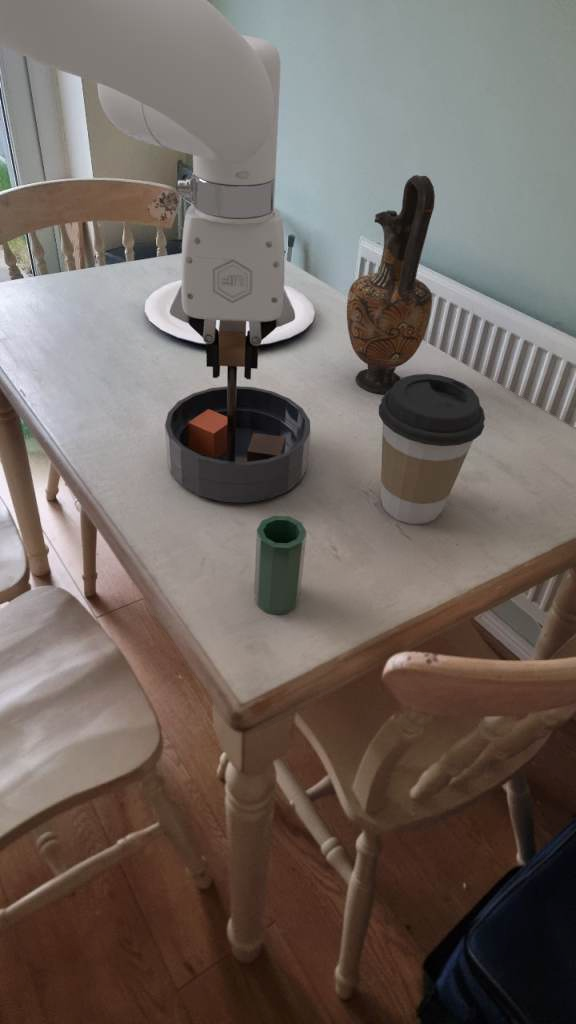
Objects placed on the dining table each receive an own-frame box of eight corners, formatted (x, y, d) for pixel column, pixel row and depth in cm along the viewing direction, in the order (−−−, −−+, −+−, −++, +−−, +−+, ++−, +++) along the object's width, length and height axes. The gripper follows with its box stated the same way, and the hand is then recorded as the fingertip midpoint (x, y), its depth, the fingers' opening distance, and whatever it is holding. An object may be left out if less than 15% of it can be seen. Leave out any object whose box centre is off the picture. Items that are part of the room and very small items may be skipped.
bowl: (143, 485, 82) (139, 443, 78) (202, 414, 95) (201, 375, 91) (281, 521, 79) (284, 479, 75) (322, 442, 91) (326, 403, 88)
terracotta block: (189, 449, 87) (188, 422, 85) (208, 435, 90) (208, 408, 87) (214, 460, 86) (213, 433, 83) (233, 446, 88) (233, 419, 86)
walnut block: (246, 478, 83) (247, 451, 81) (252, 459, 86) (253, 432, 84) (279, 482, 83) (280, 455, 81) (284, 463, 86) (285, 436, 84)
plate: (184, 368, 104) (183, 358, 103) (121, 295, 124) (120, 286, 122) (346, 336, 116) (347, 326, 115) (266, 274, 135) (266, 265, 134)
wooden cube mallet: (218, 468, 83) (218, 331, 72) (220, 452, 85) (220, 318, 74) (242, 468, 83) (245, 332, 72) (242, 453, 85) (246, 319, 74)
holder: (248, 608, 68) (250, 540, 62) (263, 577, 72) (267, 510, 66) (290, 620, 67) (296, 553, 62) (304, 588, 71) (311, 521, 65)
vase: (400, 362, 110) (437, 156, 91) (429, 403, 101) (477, 182, 82) (329, 366, 108) (352, 155, 89) (352, 408, 99) (383, 182, 79)
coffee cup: (478, 513, 82) (512, 403, 72) (412, 550, 76) (440, 436, 67) (409, 466, 88) (431, 359, 79) (343, 497, 83) (359, 386, 73)
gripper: (140, 203, 61) (153, 387, 73) (323, 213, 62) (307, 392, 74) (151, 180, 67) (161, 353, 79) (318, 189, 68) (303, 359, 80)
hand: (232, 371), depth 76 cm, fingers closed on wooden cube mallet, 2 cm apart
